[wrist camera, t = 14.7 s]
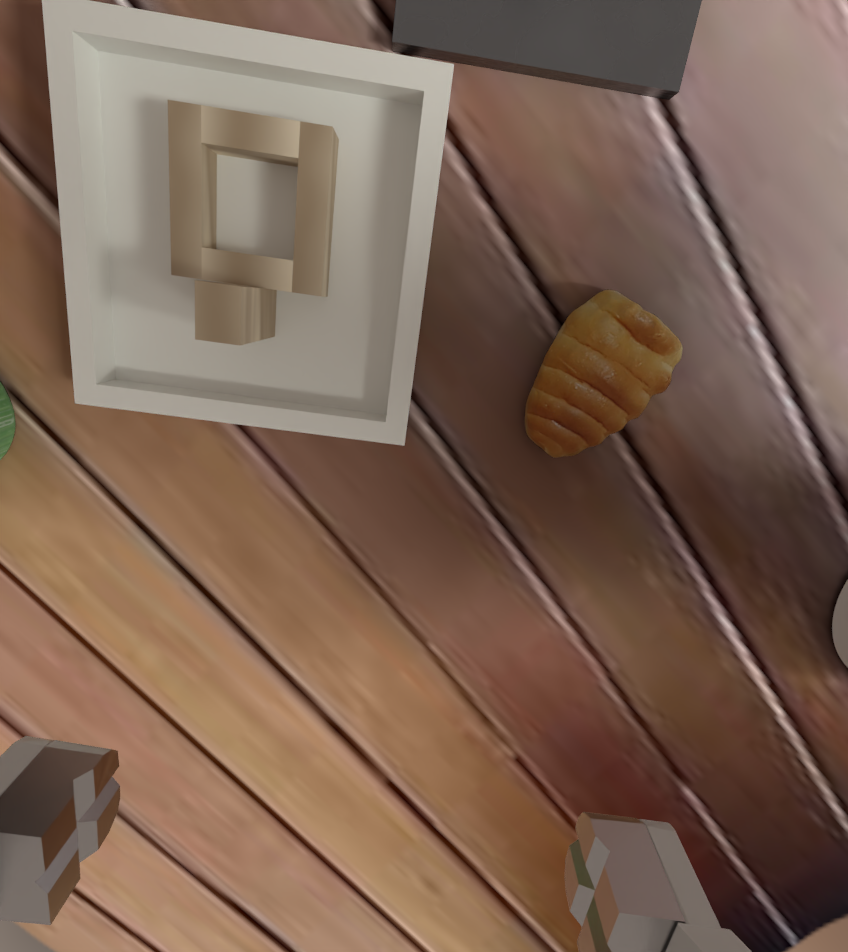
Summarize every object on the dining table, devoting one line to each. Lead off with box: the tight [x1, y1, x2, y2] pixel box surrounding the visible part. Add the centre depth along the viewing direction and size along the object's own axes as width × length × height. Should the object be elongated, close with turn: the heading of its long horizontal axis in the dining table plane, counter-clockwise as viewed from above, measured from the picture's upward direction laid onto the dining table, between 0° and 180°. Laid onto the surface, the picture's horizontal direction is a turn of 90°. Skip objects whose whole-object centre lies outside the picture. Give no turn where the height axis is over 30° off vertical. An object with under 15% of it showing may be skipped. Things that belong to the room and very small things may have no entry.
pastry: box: [525, 290, 683, 458], centre depth 29 cm, size 9×7×4 cm
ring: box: [168, 100, 339, 346], centre depth 24 cm, size 8×10×6 cm
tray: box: [42, 0, 454, 446], centre depth 27 cm, size 18×18×2 cm
